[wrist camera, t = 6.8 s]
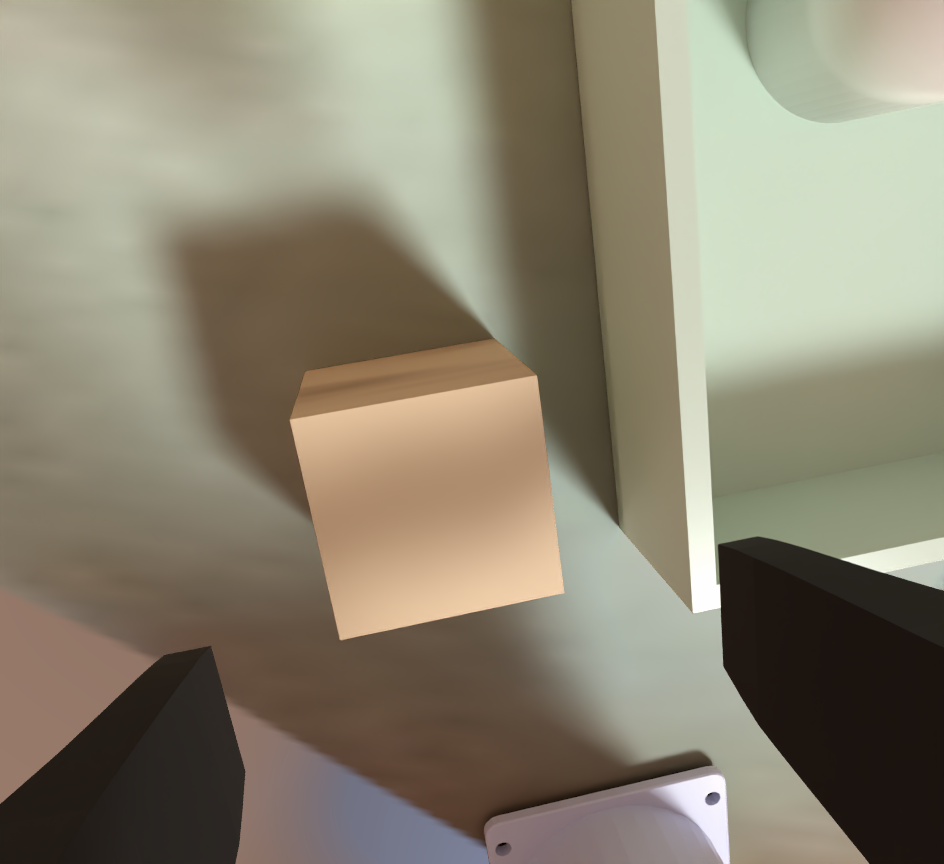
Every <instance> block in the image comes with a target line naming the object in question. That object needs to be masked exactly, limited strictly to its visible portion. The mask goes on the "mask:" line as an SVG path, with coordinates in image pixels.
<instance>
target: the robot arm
mask: <svg viewBox="0 0 944 864" xmlns="http://www.w3.org/2000/svg"><path fill="white" fill-rule="evenodd" d="M718 559H719V581H720V602H721V624H722V646H723V666H724V668H725V670H726V672H727V673H728V675H729V677H730V679H731V680H732V682H733V684H734V685H735V687H736V689H737V691H738V692H739V694H740V696H741V698H742V699H743V701H744V702H745V704H746V706H747V707H748V709H749V710H750V712H751V714H752V715H753V717H754V718H755V720H756V722H757V723H758V725H759V726H760V727H761V729H762V730H763V731H764V733H765V734H766V735H767V737H768V738H769V739H770V740H771V742H772V743H773V744H774V745H775V747H776V748H777V749H778V751H779V752H780V753H781V754H782V756H783V757H784V758H785V759H786V761H787V762H788V763H789V764H790V766H791V767H792V768H793V769H794V771H795V772H796V773H797V774H798V776H799V777H800V778H801V779H802V781H803V782H804V783H805V784H806V786H807V787H808V788H809V789H810V791H811V792H812V793H813V794H814V795H815V797H816V798H817V799H818V800H819V802H820V803H821V804H822V805H823V807H824V808H825V809H826V810H827V812H828V813H829V814H830V815H831V816H832V818H833V819H834V820H835V821H836V823H837V824H838V825H839V826H840V828H841V829H842V830H843V831H844V833H845V834H846V835H847V836H848V838H849V839H850V840H851V841H852V842H853V844H854V845H855V846H856V847H857V849H858V850H859V851H860V852H861V854H862V855H863V856H864V857H865V859H866V860H867V861H868V862H869V864H944V591H943V590H939V589H936V588H932V587H929V586H925V585H922V584H918V583H915V582H912V581H908V580H905V579H902V578H898V577H895V576H892V575H889V574H885V573H882V572H879V571H876V570H873V569H869V568H866V567H863V566H860V565H857V564H854V563H851V562H847V561H844V560H841V559H838V558H835V557H832V556H829V555H825V554H822V553H819V552H816V551H813V550H810V549H806V548H803V547H800V546H796V545H793V544H789V543H786V542H782V541H778V540H774V539H770V538H765V537H759V536H756V537H751V538H746V539H741V540H736V541H731V542H726V543H721V544H718ZM244 780H245V769H244V765H243V761H242V758H241V754H240V751H239V747H238V743H237V740H236V736H235V732H234V729H233V725H232V721H231V718H230V714H229V710H228V707H227V703H226V700H225V696H224V692H223V689H222V685H221V681H220V678H219V674H218V671H217V667H216V663H215V660H214V656H213V652H212V649H211V646H208V647H203V648H198V649H193V650H188V651H183V652H178V653H173V654H168V655H164V656H163V657H162V658H160V659H159V660H158V661H157V662H155V663H154V664H153V665H152V666H151V667H150V668H148V669H147V670H146V671H145V672H144V673H143V674H142V675H141V676H140V677H139V678H137V679H136V680H135V681H134V682H133V683H132V684H131V685H130V686H129V687H128V688H127V689H126V690H125V691H124V692H123V693H122V694H121V695H119V696H118V698H116V699H115V700H114V701H113V702H112V703H111V704H110V705H109V706H108V707H107V708H106V709H105V710H104V711H103V712H102V713H101V714H100V715H98V717H97V718H95V719H94V720H93V721H92V722H91V723H90V724H89V725H88V726H87V727H86V728H85V729H84V730H83V731H82V732H80V733H79V734H78V735H77V736H76V737H75V738H74V739H73V740H72V741H71V742H70V743H69V744H68V745H67V746H66V747H65V748H63V750H61V751H60V752H59V753H58V754H57V755H56V756H55V757H54V758H52V759H51V760H50V761H49V762H48V763H47V764H46V765H44V766H43V767H42V768H41V769H40V770H39V771H38V772H37V773H35V774H34V775H33V776H32V777H31V778H30V779H29V780H27V781H26V782H25V783H24V784H23V785H22V786H20V787H19V788H18V789H17V790H16V791H15V792H14V793H12V794H11V795H10V796H9V797H8V798H7V799H6V800H5V801H3V802H2V803H1V804H0V864H235V862H236V857H237V852H238V847H239V841H240V829H241V819H242V809H243V794H244ZM711 792H713V793H712V795H710V796H707V795H708V794H709V793H711ZM484 835H485V841H486V846H487V852H488V858H489V864H730V853H729V834H728V814H727V795H726V781H725V777H724V776H723V774H722V773H721V771H720V770H719V769H718V768H717V767H714V766H705V767H701V768H697V769H693V770H688V771H684V772H680V773H676V774H672V775H667V776H663V777H659V778H655V779H650V780H646V781H642V782H638V783H634V784H629V785H625V786H621V787H617V788H612V789H608V790H604V791H600V792H596V793H591V794H587V795H583V796H579V797H574V798H570V799H566V800H562V801H557V802H553V803H549V804H545V805H541V806H536V807H532V808H528V809H524V810H519V811H515V812H511V813H507V814H503V815H498V816H495V817H493V818H491V819H490V820H489V821H488V822H487V823H486V825H485V827H484ZM500 843H507V844H505V845H503V846H497V845H498V844H500Z"/></svg>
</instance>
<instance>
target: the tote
mask: <svg viewBox="0 0 944 864" xmlns="http://www.w3.org/2000/svg"><path fill="white" fill-rule="evenodd" d="M571 5H572V16H573V27H574V38H575V49H576V60H577V71H578V82H579V93H580V103H581V114H582V125H583V136H584V147H585V158H586V169H587V180H588V191H589V202H590V212H591V223H592V234H593V245H594V256H595V267H596V278H597V289H598V300H599V311H600V321H601V332H602V343H603V354H604V365H605V376H606V387H607V398H608V409H609V420H610V430H611V441H612V452H613V463H614V474H615V485H616V496H617V507H618V518H619V528H620V529H621V530H622V531H623V532H624V534H625V535H626V536H627V537H628V538H629V539H630V541H631V542H632V543H633V544H634V545H635V546H636V548H637V549H638V550H639V551H640V552H641V553H642V555H643V556H644V557H645V558H646V559H647V560H648V562H649V563H650V564H651V565H652V566H653V567H654V569H655V570H656V571H657V572H658V573H659V574H660V576H661V577H662V578H663V579H664V580H665V581H666V583H667V584H668V585H669V586H670V587H671V588H672V590H673V591H674V592H675V593H676V594H677V595H678V597H679V598H680V599H681V600H682V601H683V602H684V604H685V605H686V606H687V607H688V608H689V609H690V611H691V612H692V613H697V612H702V611H707V610H711V609H716V608H721V602H720V581H719V559H718V544H721V543H726V542H731V541H736V540H741V539H746V538H751V537H756V536H759V537H765V538H770V539H774V540H778V541H782V542H786V543H789V544H793V545H796V546H800V547H803V548H806V549H810V550H813V551H816V552H819V553H822V554H825V555H829V556H832V557H835V558H838V559H841V560H844V561H847V562H851V563H854V564H857V565H860V566H863V567H866V568H869V569H873V570H876V571H879V572H882V573H884V572H889V571H894V570H898V569H903V568H908V567H912V566H917V565H922V564H926V563H931V562H936V561H940V560H944V102H943V103H938V104H933V105H928V106H923V107H917V108H912V109H907V110H902V111H897V112H892V113H887V114H881V115H876V116H871V117H866V118H861V119H856V120H851V121H846V122H840V123H820V122H814V121H810V120H806V119H803V118H801V117H799V116H796V115H794V114H793V113H791V112H789V111H788V110H786V109H785V108H783V107H782V106H781V105H780V104H779V103H778V102H776V101H775V100H774V99H773V97H772V96H771V95H770V94H769V93H768V92H767V90H766V89H765V87H764V86H763V84H762V83H761V81H760V80H759V78H758V75H757V73H756V71H755V69H754V67H753V64H752V61H751V58H750V54H749V50H748V45H747V39H746V26H745V22H746V6H747V0H571Z"/></svg>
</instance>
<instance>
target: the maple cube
mask: <svg viewBox="0 0 944 864" xmlns="http://www.w3.org/2000/svg"><path fill="white" fill-rule="evenodd" d="M290 423H291V428H292V432H293V436H294V441H295V445H296V449H297V454H298V458H299V463H300V467H301V471H302V476H303V480H304V485H305V489H306V493H307V498H308V502H309V506H310V511H311V515H312V520H313V524H314V528H315V533H316V537H317V541H318V546H319V550H320V555H321V559H322V563H323V568H324V572H325V576H326V581H327V585H328V590H329V594H330V598H331V603H332V607H333V611H334V616H335V620H336V625H337V629H338V633H339V638H340V640H344V639H349V638H354V637H358V636H363V635H368V634H373V633H377V632H382V631H387V630H392V629H396V628H401V627H406V626H411V625H415V624H420V623H425V622H429V621H434V620H439V619H444V618H448V617H453V616H458V615H463V614H467V613H472V612H477V611H482V610H486V609H491V608H496V607H500V606H505V605H510V604H515V603H519V602H524V601H529V600H534V599H538V598H543V597H548V596H552V595H557V594H562V593H564V587H563V579H562V571H561V563H560V555H559V547H558V539H557V531H556V523H555V515H554V507H553V499H552V491H551V483H550V475H549V467H548V459H547V451H546V443H545V435H544V427H543V419H542V411H541V403H540V395H539V387H538V379H537V375H536V374H535V373H534V372H533V371H532V370H530V369H529V368H528V367H527V366H526V365H525V364H523V363H522V362H521V361H520V360H519V359H518V358H516V357H515V356H514V355H513V354H512V353H511V352H509V351H508V350H507V349H506V348H505V347H504V346H503V345H501V344H500V343H499V342H498V341H497V340H496V339H494V338H493V339H487V340H481V341H476V342H470V343H464V344H458V345H453V346H447V347H441V348H436V349H430V350H424V351H418V352H413V353H407V354H401V355H396V356H390V357H384V358H378V359H373V360H367V361H361V362H355V363H350V364H344V365H338V366H333V367H327V368H321V369H315V370H310V371H305V374H304V377H303V380H302V383H301V386H300V389H299V393H298V396H297V399H296V402H295V405H294V408H293V411H292V414H291V417H290Z"/></svg>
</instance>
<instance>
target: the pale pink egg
mask: <svg viewBox="0 0 944 864" xmlns="http://www.w3.org/2000/svg"><path fill="white" fill-rule="evenodd" d="M745 26H746V39H747V45H748V50H749V54H750V58H751V61H752V64H753V67H754V69H755V71H756V73H757V75H758V78H759V80H760V81H761V83H762V84H763V86H764V87H765V89H766V90H767V92H768V93H769V94H770V95H771V96H772V97H773V99H774V100H775V101H776V102H778V103H779V104H780V105H781V106H782V107H783V108H785V109H786V110H788V111H789V112H791V113H793V114H794V115H796V116H799V117H801V118H803V119H806V120H810V121H814V122H820V123H840V122H846V121H851V120H856V119H861V118H866V117H871V116H876V115H881V114H887V113H892V112H897V111H902V110H907V109H912V108H917V107H923V106H928V105H933V104H938V103H943V102H944V0H747V6H746V22H745Z"/></svg>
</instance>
